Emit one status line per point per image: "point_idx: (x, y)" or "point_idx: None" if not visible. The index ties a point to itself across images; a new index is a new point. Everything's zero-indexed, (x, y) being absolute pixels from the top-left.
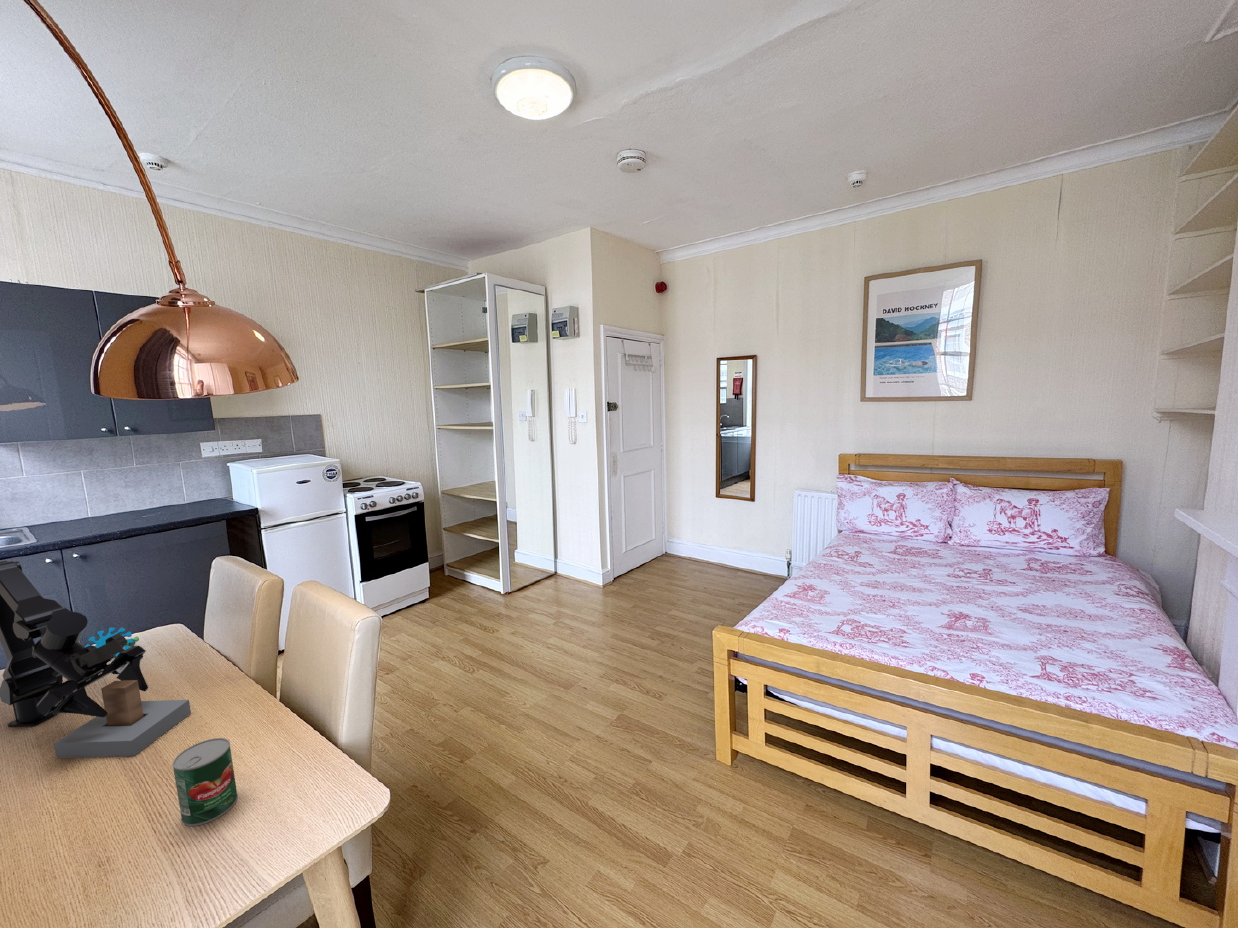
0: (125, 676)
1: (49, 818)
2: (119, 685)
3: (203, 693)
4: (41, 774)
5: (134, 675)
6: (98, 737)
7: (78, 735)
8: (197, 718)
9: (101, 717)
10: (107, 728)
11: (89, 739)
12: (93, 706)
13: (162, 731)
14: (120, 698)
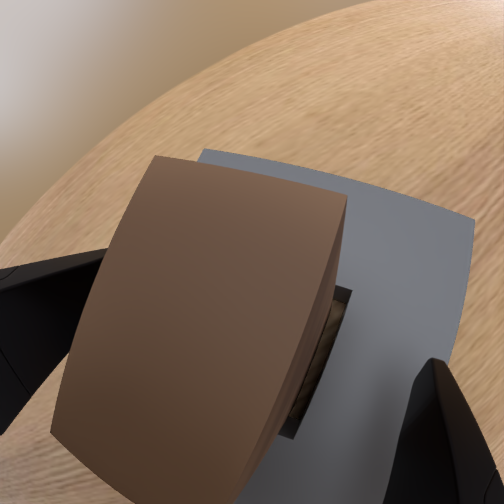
0: (1, 379)
1: None
2: (204, 331)
3: (110, 206)
4: None
5: (13, 305)
6: (404, 398)
7: (335, 497)
8: (270, 148)
9: None
10: (329, 401)
11: None
12: (485, 447)
13: None
14: (319, 315)
